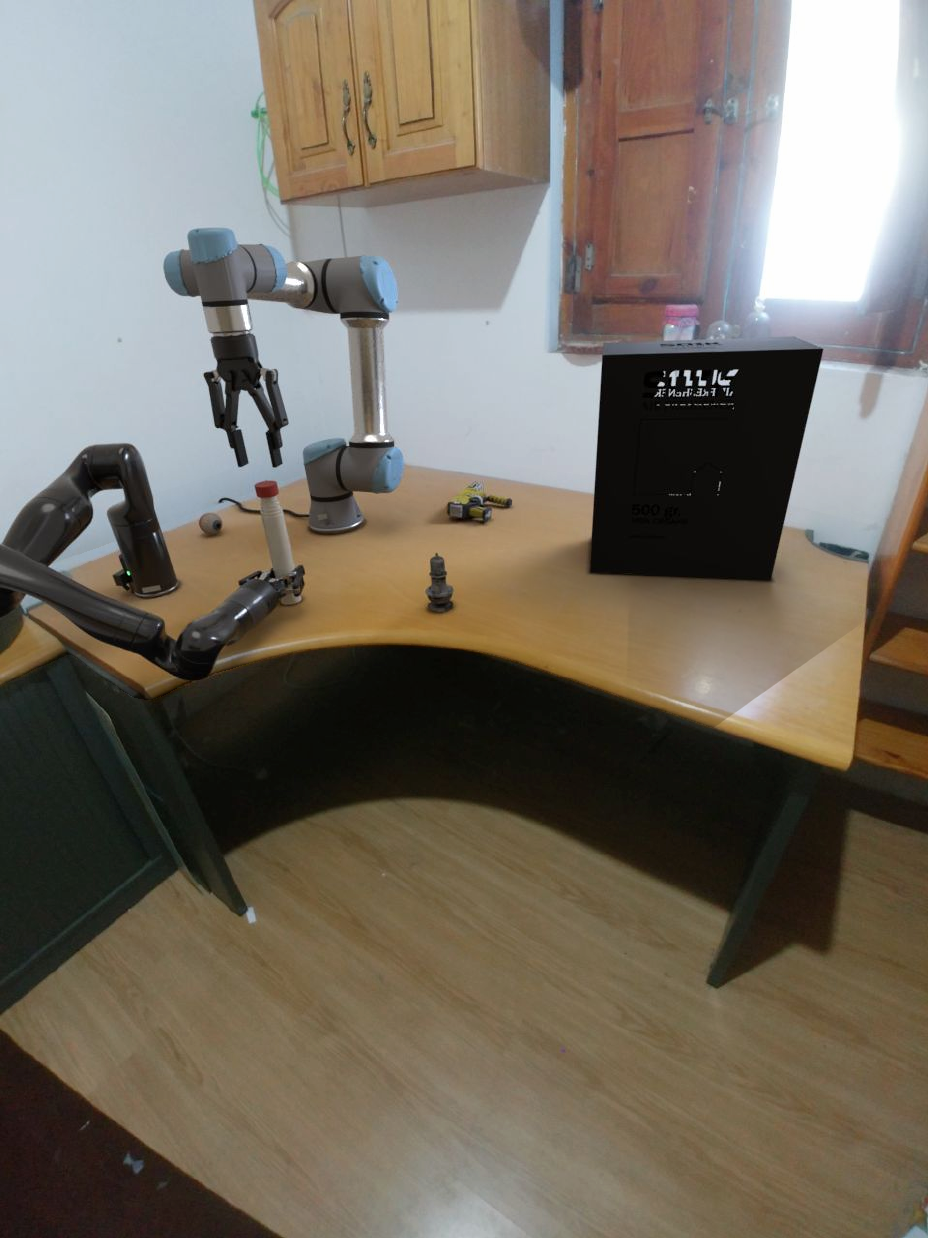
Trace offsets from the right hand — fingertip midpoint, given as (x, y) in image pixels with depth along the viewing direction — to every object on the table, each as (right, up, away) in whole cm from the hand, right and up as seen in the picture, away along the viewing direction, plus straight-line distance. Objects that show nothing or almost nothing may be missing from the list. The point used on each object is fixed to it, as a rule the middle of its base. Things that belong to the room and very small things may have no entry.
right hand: (260, 465), depth 116 cm
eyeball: (-31, -6, +52) cm, 61 cm away
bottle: (+2, -26, +15) cm, 30 cm away
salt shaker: (+34, -27, +9) cm, 45 cm away
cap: (0, -3, +2) cm, 4 cm away
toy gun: (+45, +2, +59) cm, 74 cm away
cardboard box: (+88, -15, +24) cm, 92 cm away
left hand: (+2, -19, +14) cm, 23 cm away
